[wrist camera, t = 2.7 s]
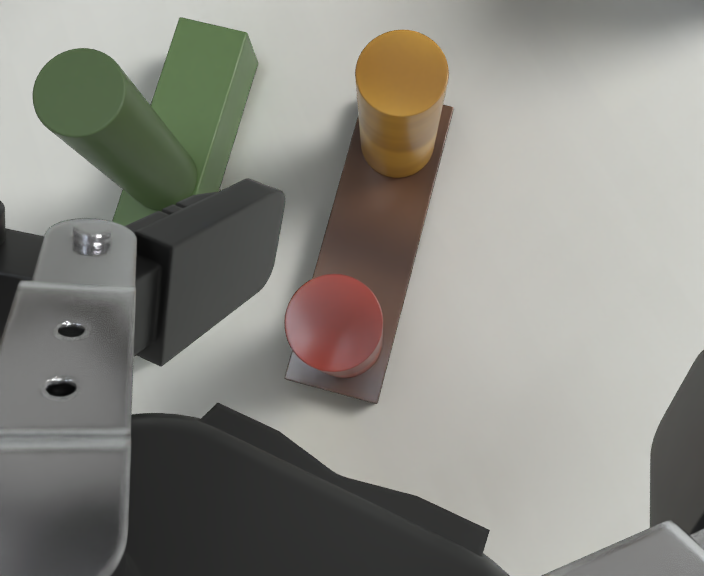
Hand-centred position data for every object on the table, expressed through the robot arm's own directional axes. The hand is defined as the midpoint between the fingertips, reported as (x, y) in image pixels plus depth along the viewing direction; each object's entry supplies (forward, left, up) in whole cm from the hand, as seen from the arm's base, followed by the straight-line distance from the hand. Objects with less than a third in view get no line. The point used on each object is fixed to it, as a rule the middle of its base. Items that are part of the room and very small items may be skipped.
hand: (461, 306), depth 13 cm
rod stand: (-6, +1, -20) cm, 21 cm away
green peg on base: (-13, -6, -20) cm, 25 cm away
